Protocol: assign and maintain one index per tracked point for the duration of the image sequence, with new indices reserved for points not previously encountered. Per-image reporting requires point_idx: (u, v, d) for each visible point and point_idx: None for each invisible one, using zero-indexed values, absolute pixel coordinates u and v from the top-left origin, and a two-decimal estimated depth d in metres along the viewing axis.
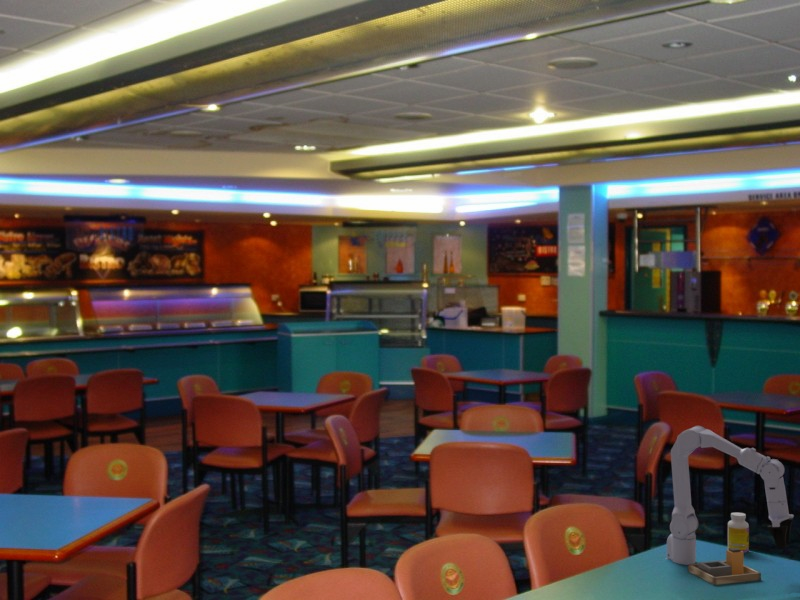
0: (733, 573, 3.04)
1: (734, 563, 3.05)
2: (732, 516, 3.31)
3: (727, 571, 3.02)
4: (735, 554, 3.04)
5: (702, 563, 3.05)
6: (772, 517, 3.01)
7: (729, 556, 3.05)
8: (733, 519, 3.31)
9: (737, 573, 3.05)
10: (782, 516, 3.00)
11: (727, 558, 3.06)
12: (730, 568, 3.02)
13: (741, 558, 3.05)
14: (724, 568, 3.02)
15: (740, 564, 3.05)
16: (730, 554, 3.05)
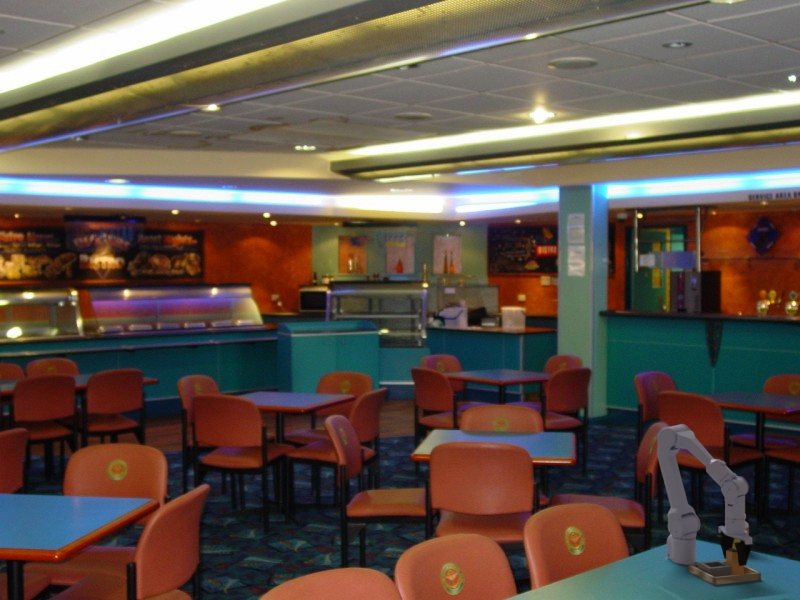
0: (733, 573, 3.04)
1: (734, 563, 3.05)
2: None
3: (727, 571, 3.02)
4: (735, 554, 3.04)
5: (702, 563, 3.05)
6: (735, 534, 3.03)
7: (729, 556, 3.05)
8: None
9: (737, 573, 3.05)
10: (744, 533, 3.04)
11: (727, 558, 3.06)
12: (730, 568, 3.02)
13: None
14: (724, 568, 3.02)
15: None
16: (730, 554, 3.05)
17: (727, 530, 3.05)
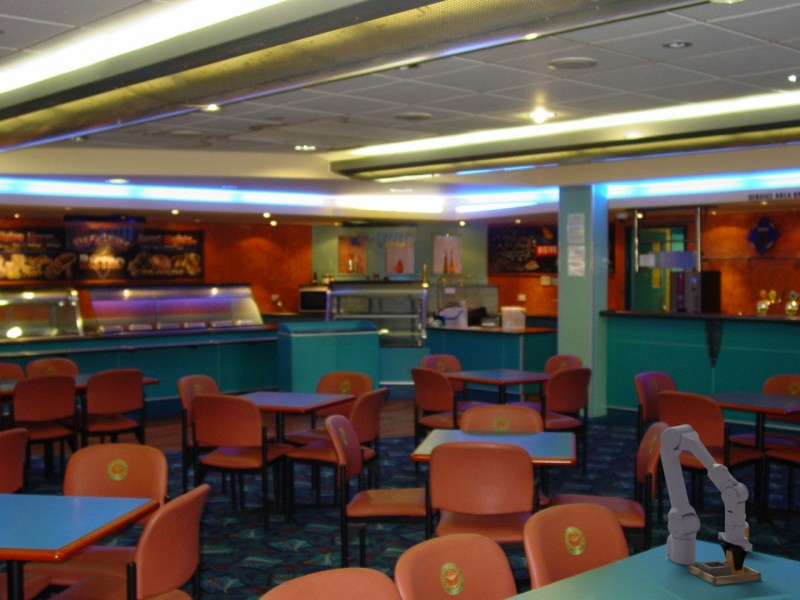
0: (733, 573, 3.04)
1: None
2: None
3: (727, 571, 3.02)
4: None
5: (702, 563, 3.05)
6: (735, 541, 3.03)
7: (729, 556, 3.05)
8: None
9: (737, 573, 3.05)
10: (743, 539, 3.04)
11: (727, 558, 3.06)
12: (730, 568, 3.02)
13: None
14: (724, 568, 3.02)
15: None
16: (730, 554, 3.05)
17: (727, 536, 3.05)
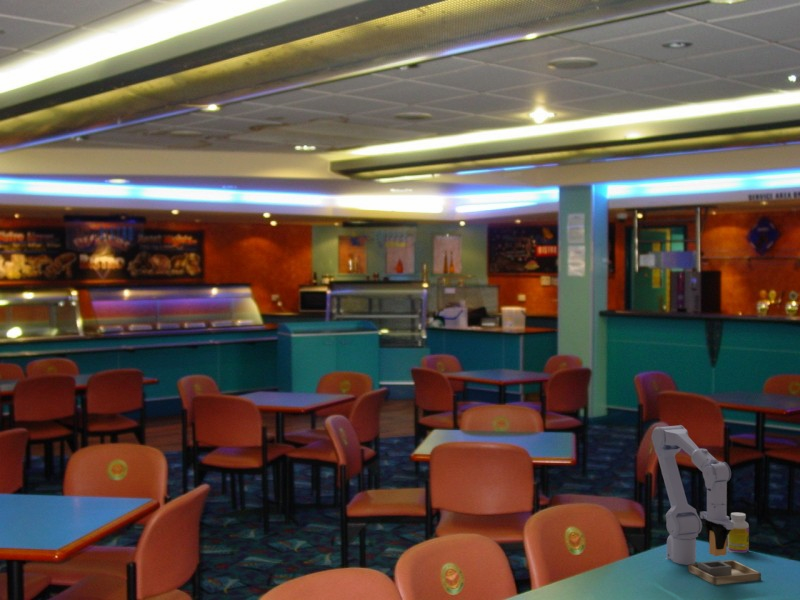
0: (716, 553, 3.03)
1: None
2: (732, 516, 3.31)
3: (727, 571, 3.02)
4: None
5: (702, 563, 3.05)
6: (717, 519, 3.01)
7: (712, 536, 3.04)
8: (733, 519, 3.31)
9: (720, 553, 3.03)
10: (725, 518, 3.02)
11: (710, 538, 3.05)
12: (730, 568, 3.02)
13: None
14: (724, 568, 3.02)
15: None
16: (713, 535, 3.03)
17: (709, 515, 3.03)
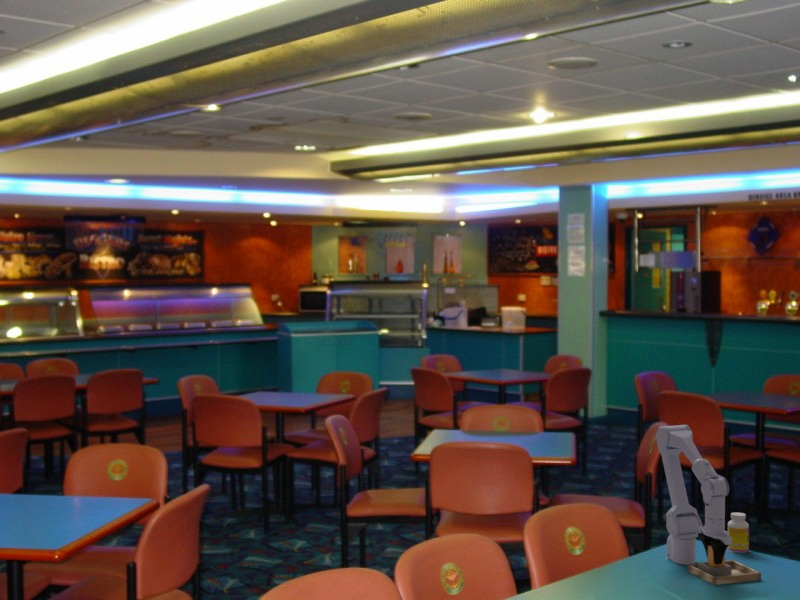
0: None
1: None
2: (732, 516, 3.31)
3: (727, 571, 3.02)
4: None
5: (702, 563, 3.05)
6: (715, 534, 3.01)
7: (711, 551, 3.04)
8: (733, 519, 3.31)
9: None
10: (723, 533, 3.02)
11: (708, 553, 3.05)
12: (730, 568, 3.02)
13: None
14: (724, 568, 3.02)
15: None
16: (711, 549, 3.03)
17: (707, 530, 3.03)
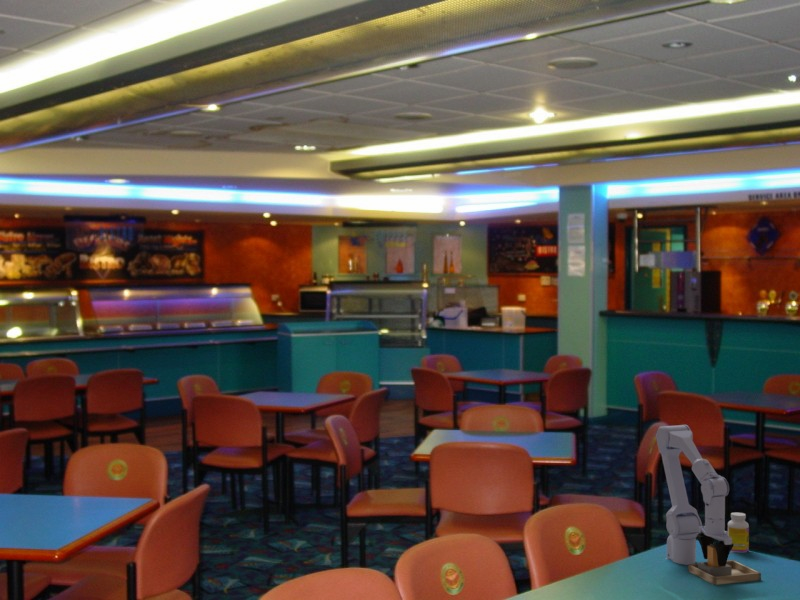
0: None
1: (716, 558, 3.03)
2: (732, 516, 3.31)
3: (727, 571, 3.02)
4: None
5: (702, 563, 3.05)
6: (715, 534, 3.01)
7: (710, 551, 3.04)
8: (733, 519, 3.31)
9: None
10: (723, 533, 3.02)
11: (708, 553, 3.05)
12: (730, 568, 3.02)
13: None
14: (724, 568, 3.02)
15: None
16: (711, 550, 3.03)
17: (707, 530, 3.03)
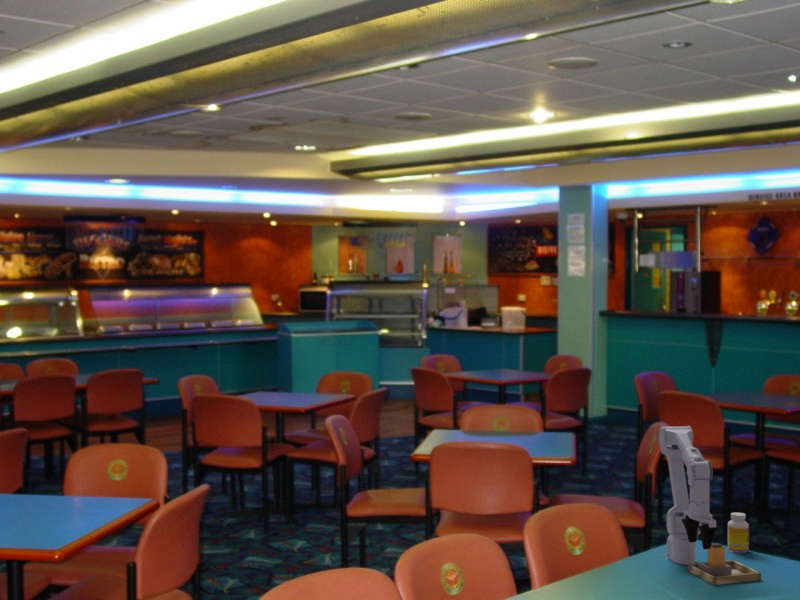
0: None
1: (716, 558, 3.03)
2: (732, 516, 3.31)
3: (727, 571, 3.02)
4: (716, 549, 3.03)
5: (702, 563, 3.05)
6: (700, 517, 3.01)
7: (710, 551, 3.04)
8: (733, 519, 3.31)
9: None
10: (708, 516, 3.02)
11: (708, 553, 3.05)
12: (730, 568, 3.02)
13: (723, 553, 3.03)
14: (724, 568, 3.02)
15: (721, 559, 3.03)
16: (711, 550, 3.03)
17: (691, 513, 3.03)
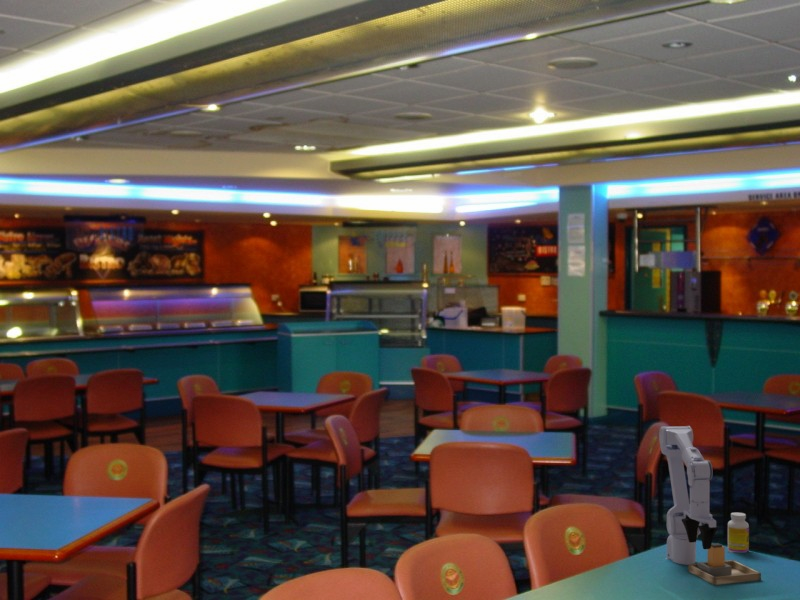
0: None
1: (716, 558, 3.03)
2: (732, 516, 3.31)
3: (727, 571, 3.02)
4: (716, 549, 3.03)
5: (702, 563, 3.05)
6: (700, 517, 3.01)
7: (710, 551, 3.04)
8: (733, 519, 3.31)
9: None
10: (708, 516, 3.02)
11: (708, 553, 3.05)
12: (730, 568, 3.02)
13: (723, 553, 3.03)
14: (724, 568, 3.02)
15: (721, 559, 3.03)
16: (711, 550, 3.03)
17: (691, 513, 3.03)
